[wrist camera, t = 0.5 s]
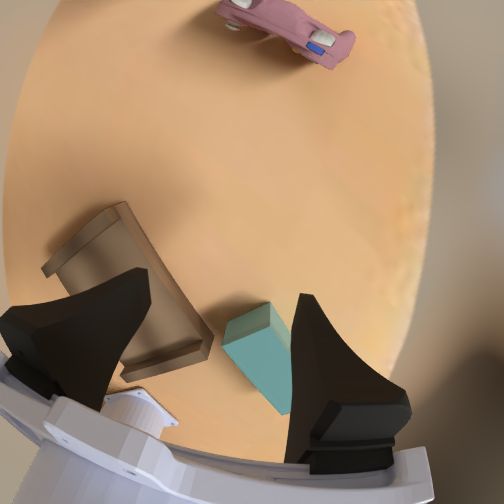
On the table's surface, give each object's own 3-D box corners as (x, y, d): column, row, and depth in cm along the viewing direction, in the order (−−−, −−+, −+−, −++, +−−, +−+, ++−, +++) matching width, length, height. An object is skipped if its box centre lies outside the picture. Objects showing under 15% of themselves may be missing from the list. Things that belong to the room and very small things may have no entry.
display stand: (138, 363, 28) (126, 383, 24) (60, 255, 24) (40, 268, 20) (214, 336, 25) (207, 359, 22) (125, 201, 21) (104, 209, 18)
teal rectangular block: (281, 388, 28) (281, 415, 24) (228, 319, 25) (221, 346, 21) (318, 374, 27) (322, 401, 23) (270, 300, 24) (270, 326, 20)
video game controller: (231, 24, 17) (193, 18, 12) (255, -15, 14) (223, -35, 9) (331, 76, 18) (328, 84, 13) (360, 38, 15) (369, 31, 10)
